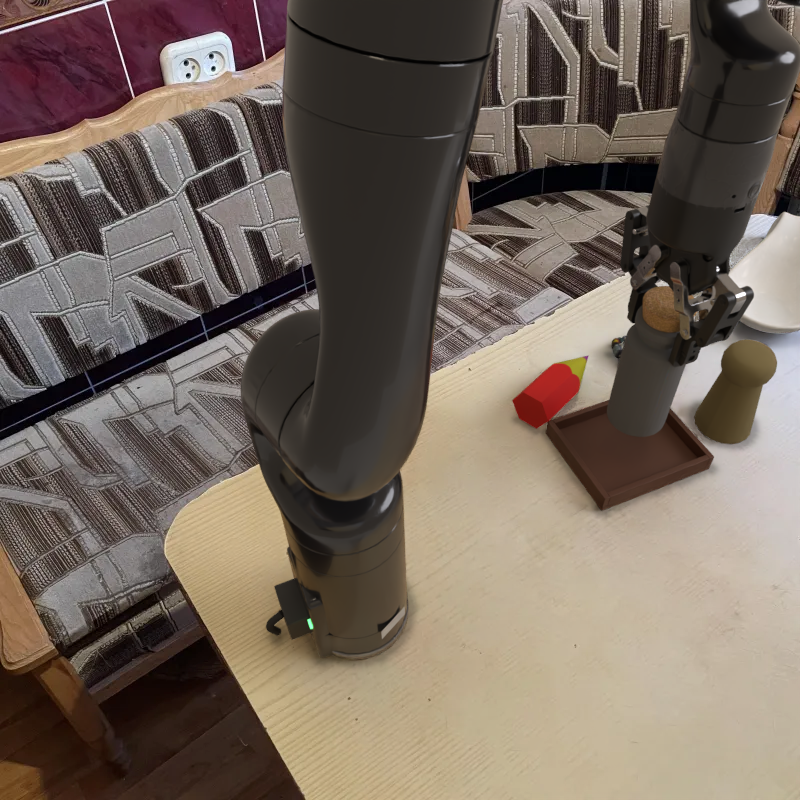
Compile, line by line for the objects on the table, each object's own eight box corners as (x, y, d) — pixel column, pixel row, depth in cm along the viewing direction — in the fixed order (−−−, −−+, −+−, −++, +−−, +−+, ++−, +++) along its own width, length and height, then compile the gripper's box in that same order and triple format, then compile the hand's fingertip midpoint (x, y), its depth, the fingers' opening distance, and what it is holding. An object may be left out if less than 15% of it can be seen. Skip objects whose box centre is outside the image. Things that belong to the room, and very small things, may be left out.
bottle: (665, 441, 75) (707, 328, 64) (605, 433, 76) (636, 319, 65) (664, 398, 79) (703, 284, 68) (606, 391, 79) (636, 277, 68)
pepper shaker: (729, 397, 86) (761, 324, 78) (762, 435, 82) (799, 363, 74) (683, 410, 85) (710, 338, 77) (714, 450, 81) (746, 378, 73)
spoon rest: (809, 358, 90) (832, 312, 85) (706, 333, 94) (722, 286, 88) (826, 250, 104) (846, 205, 99) (736, 232, 108) (752, 187, 103)
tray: (601, 511, 76) (605, 499, 75) (544, 433, 83) (547, 420, 82) (709, 469, 79) (714, 456, 78) (645, 397, 86) (650, 384, 85)
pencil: (603, 377, 89) (610, 351, 86) (545, 434, 83) (551, 408, 80) (568, 359, 91) (574, 333, 88) (509, 413, 85) (513, 386, 82)
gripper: (613, 143, 61) (581, 305, 73) (732, 239, 51) (672, 406, 64) (690, 123, 62) (646, 284, 75) (818, 213, 53) (744, 380, 66)
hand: (658, 339), depth 69 cm, fingers closed on bottle, 5 cm apart
